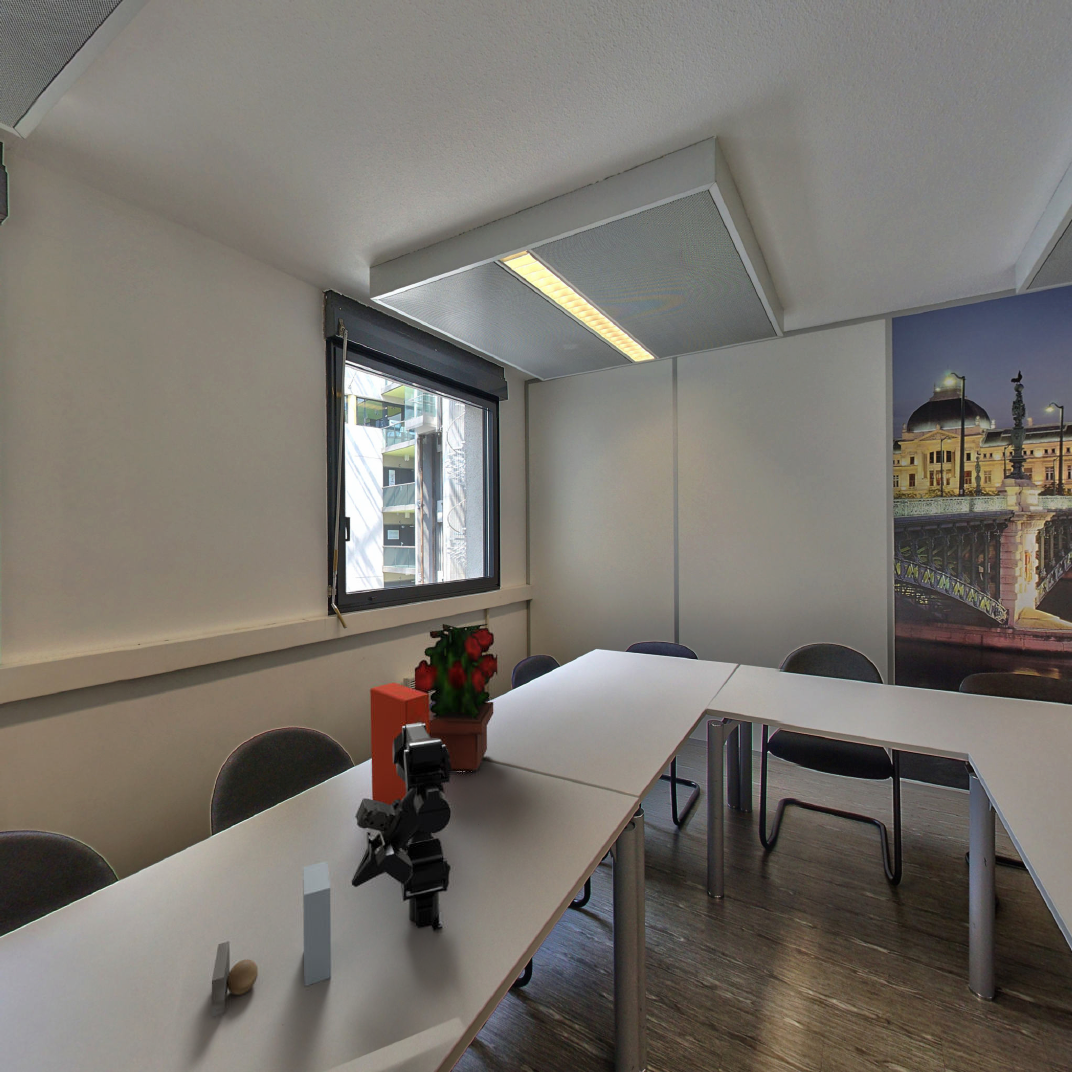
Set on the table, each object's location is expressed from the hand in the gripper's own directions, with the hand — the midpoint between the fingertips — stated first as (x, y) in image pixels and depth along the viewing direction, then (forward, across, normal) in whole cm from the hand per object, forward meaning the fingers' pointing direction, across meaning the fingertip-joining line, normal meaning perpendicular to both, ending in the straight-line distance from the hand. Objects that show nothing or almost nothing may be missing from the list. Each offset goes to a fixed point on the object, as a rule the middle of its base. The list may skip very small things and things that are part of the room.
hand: (353, 884), depth 93 cm
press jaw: (+13, 0, +4) cm, 14 cm away
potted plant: (-19, -70, +38) cm, 82 cm away
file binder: (-3, -52, +22) cm, 56 cm away
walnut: (+21, 0, -3) cm, 21 cm away
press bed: (+17, 0, +2) cm, 18 cm away
